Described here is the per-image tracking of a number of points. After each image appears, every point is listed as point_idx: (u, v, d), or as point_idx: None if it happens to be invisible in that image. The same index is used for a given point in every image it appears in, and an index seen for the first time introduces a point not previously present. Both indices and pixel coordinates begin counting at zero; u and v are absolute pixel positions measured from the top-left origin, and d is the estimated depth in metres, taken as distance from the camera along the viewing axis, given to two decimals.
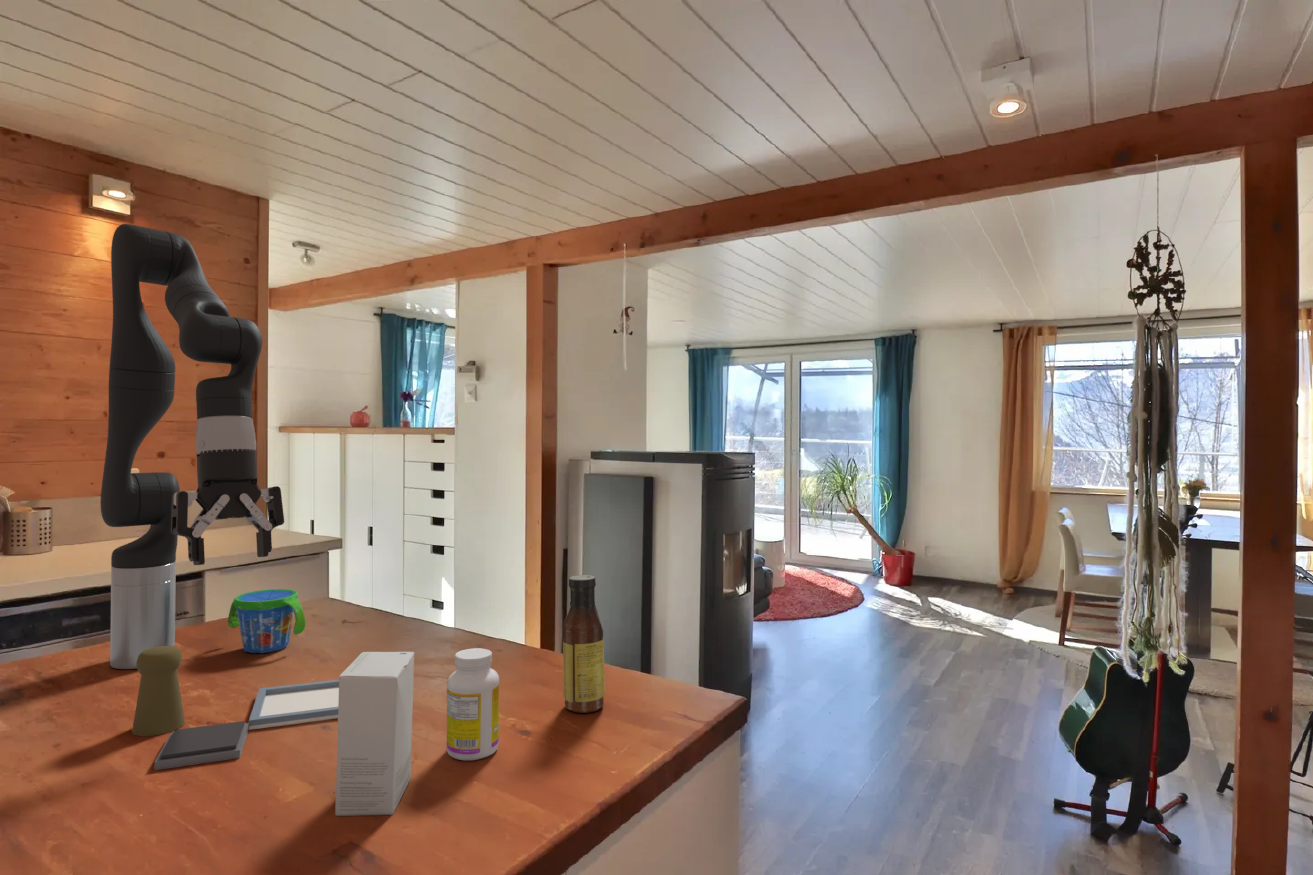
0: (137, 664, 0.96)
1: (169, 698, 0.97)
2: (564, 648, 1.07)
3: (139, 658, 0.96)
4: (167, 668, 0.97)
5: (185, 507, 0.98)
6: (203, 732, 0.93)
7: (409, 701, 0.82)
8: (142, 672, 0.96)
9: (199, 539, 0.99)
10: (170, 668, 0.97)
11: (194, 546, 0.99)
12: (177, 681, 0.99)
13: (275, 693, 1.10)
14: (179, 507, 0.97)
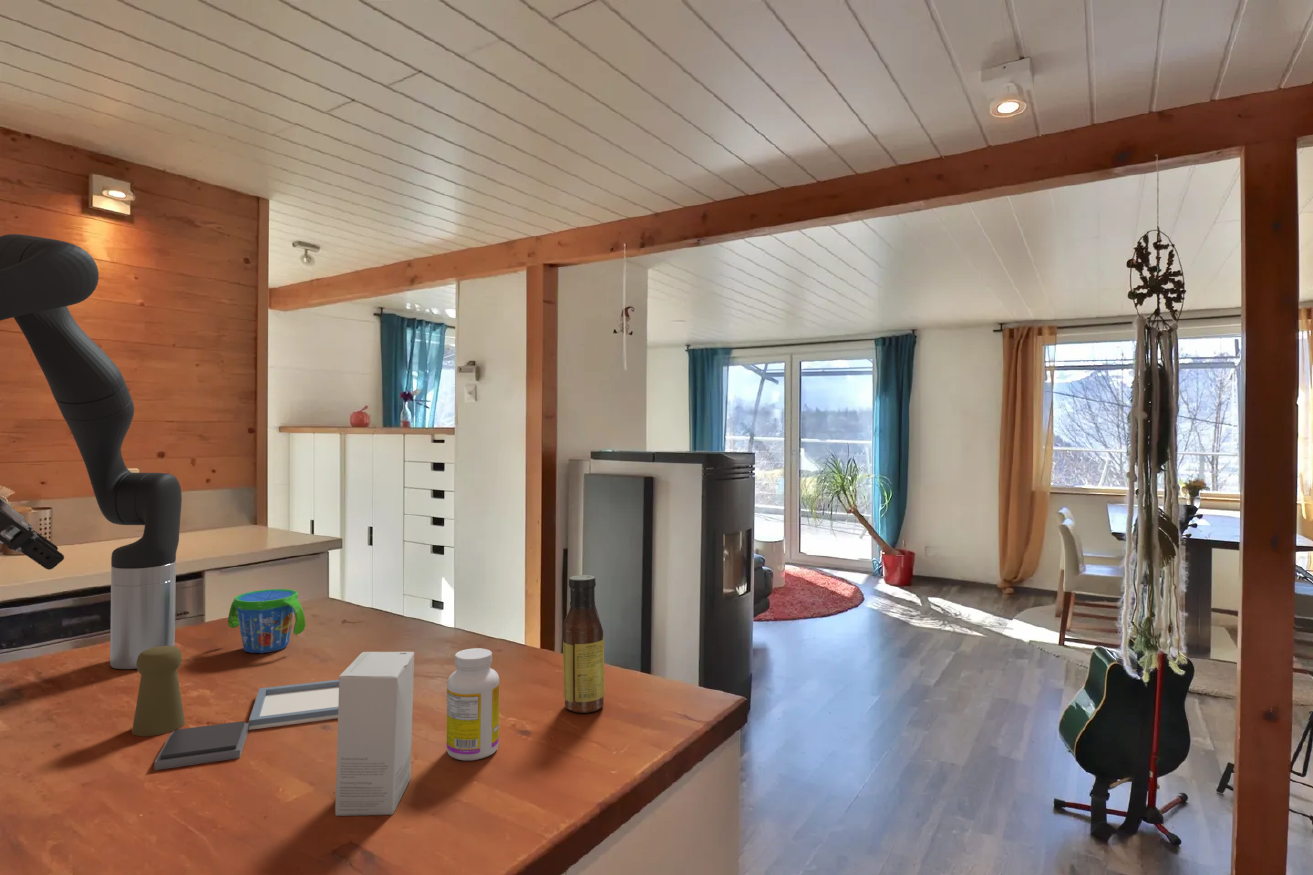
0: (137, 664, 0.96)
1: (169, 698, 0.97)
2: (564, 648, 1.07)
3: (139, 658, 0.96)
4: (167, 668, 0.97)
5: None
6: (203, 732, 0.93)
7: (409, 701, 0.82)
8: (142, 672, 0.96)
9: None
10: (170, 668, 0.97)
11: None
12: (177, 681, 0.99)
13: (275, 693, 1.10)
14: None
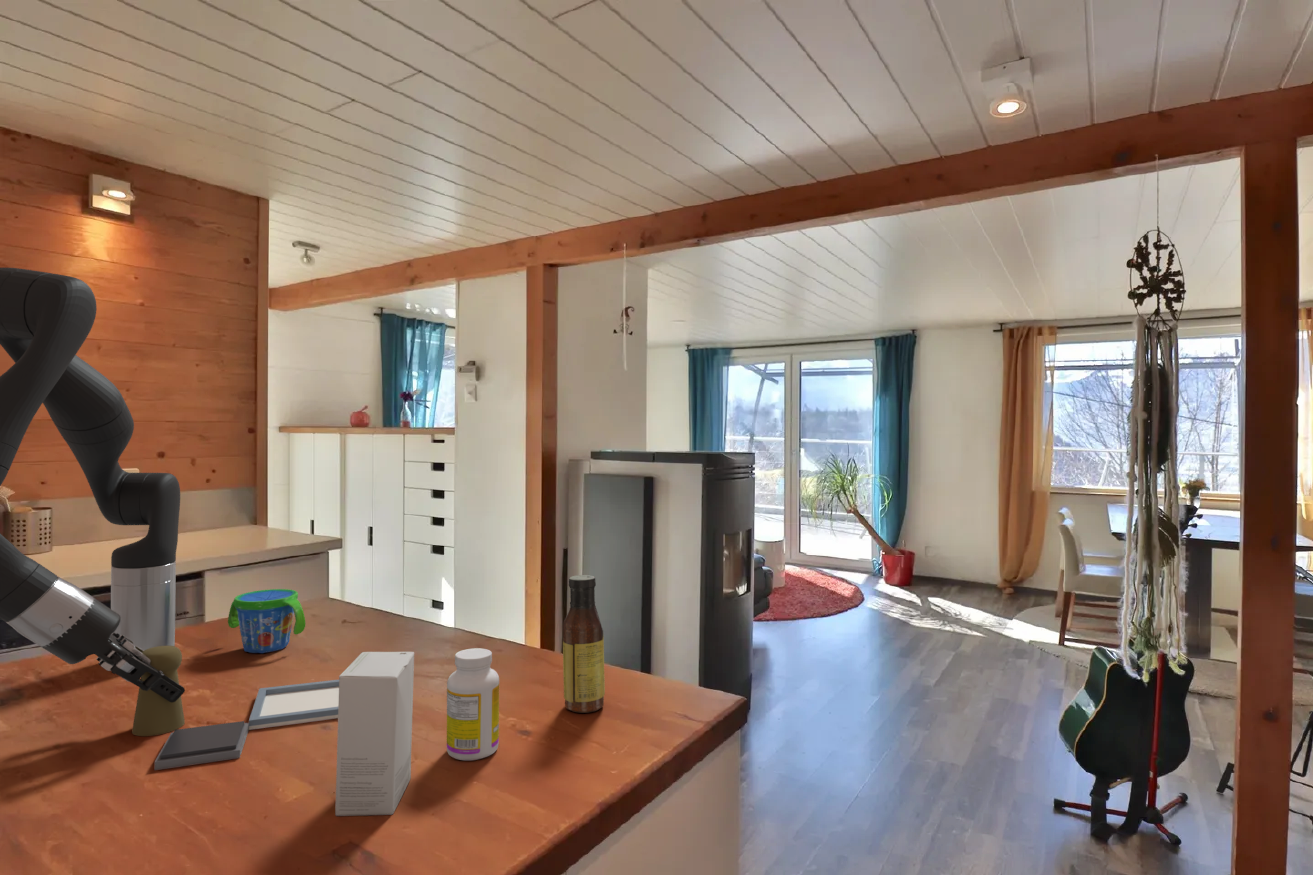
0: None
1: None
2: (564, 648, 1.07)
3: None
4: (167, 668, 0.97)
5: None
6: (203, 732, 0.93)
7: (409, 701, 0.82)
8: None
9: None
10: (170, 668, 0.97)
11: None
12: (177, 681, 0.99)
13: (275, 693, 1.10)
14: None
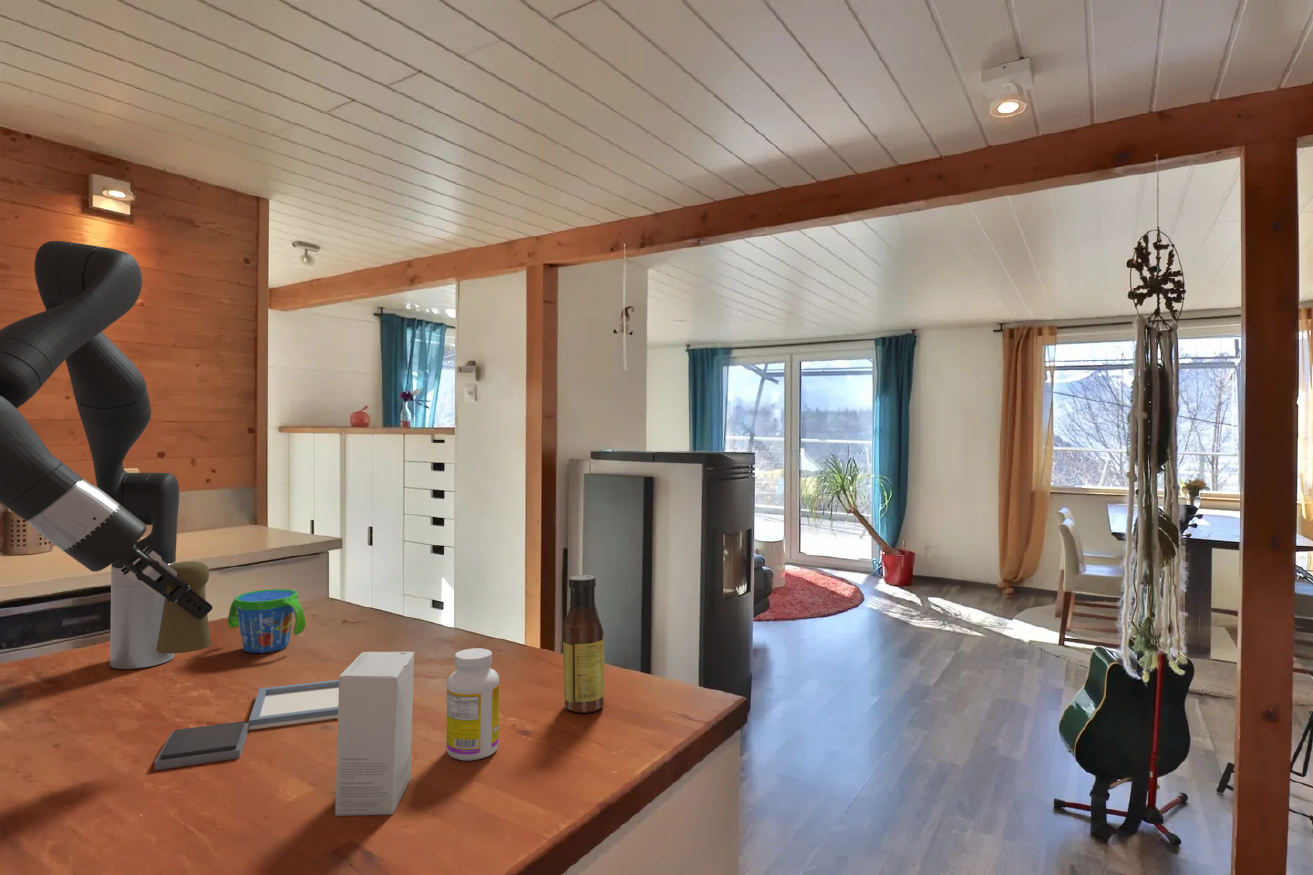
0: None
1: None
2: (564, 648, 1.07)
3: None
4: (193, 582, 0.91)
5: None
6: (203, 732, 0.93)
7: (409, 701, 0.82)
8: (168, 586, 0.91)
9: None
10: (197, 583, 0.92)
11: None
12: (204, 598, 0.93)
13: (275, 693, 1.10)
14: None
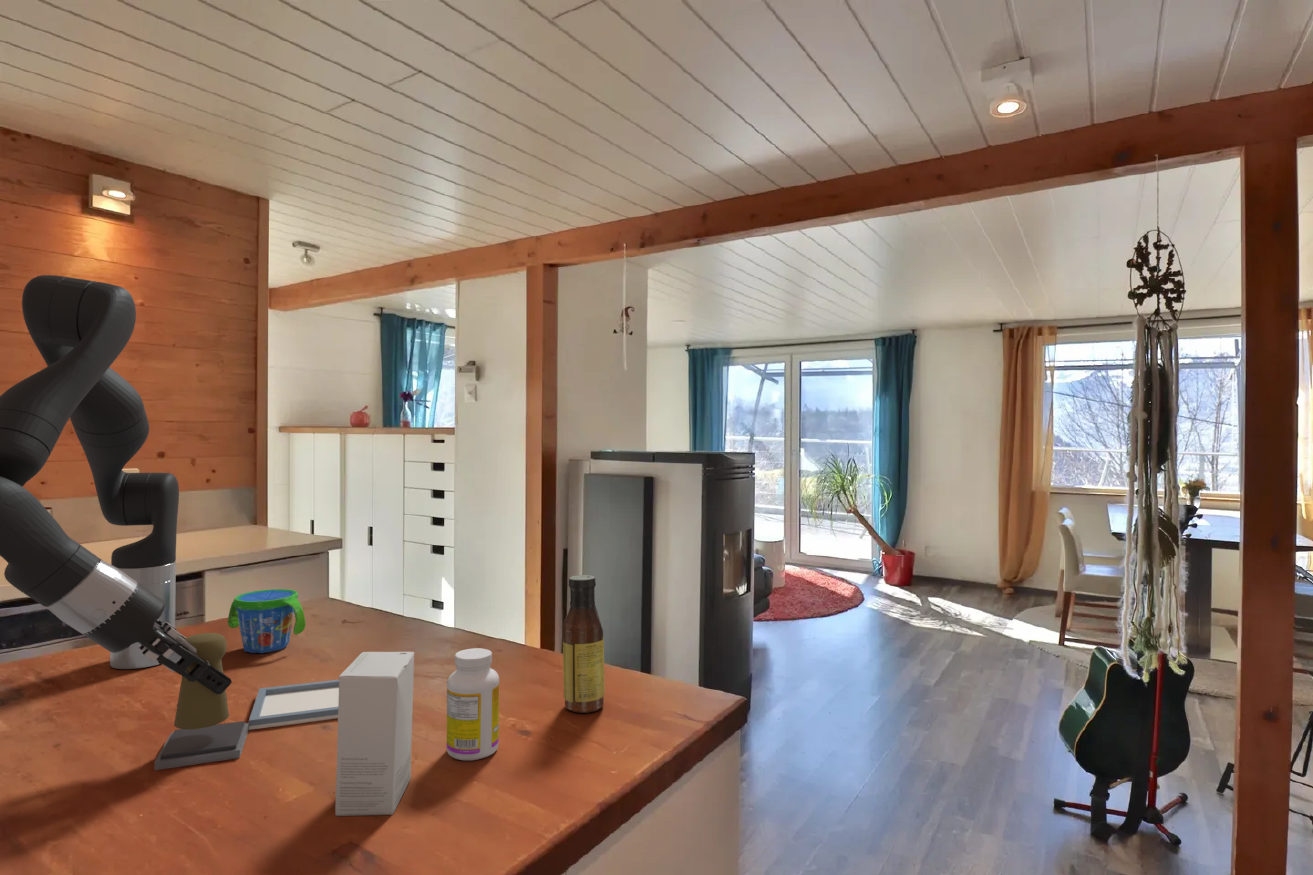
0: None
1: None
2: (564, 648, 1.07)
3: None
4: (212, 656, 0.90)
5: None
6: (203, 732, 0.93)
7: (409, 701, 0.82)
8: None
9: None
10: (215, 657, 0.91)
11: None
12: (222, 671, 0.93)
13: (275, 693, 1.10)
14: None
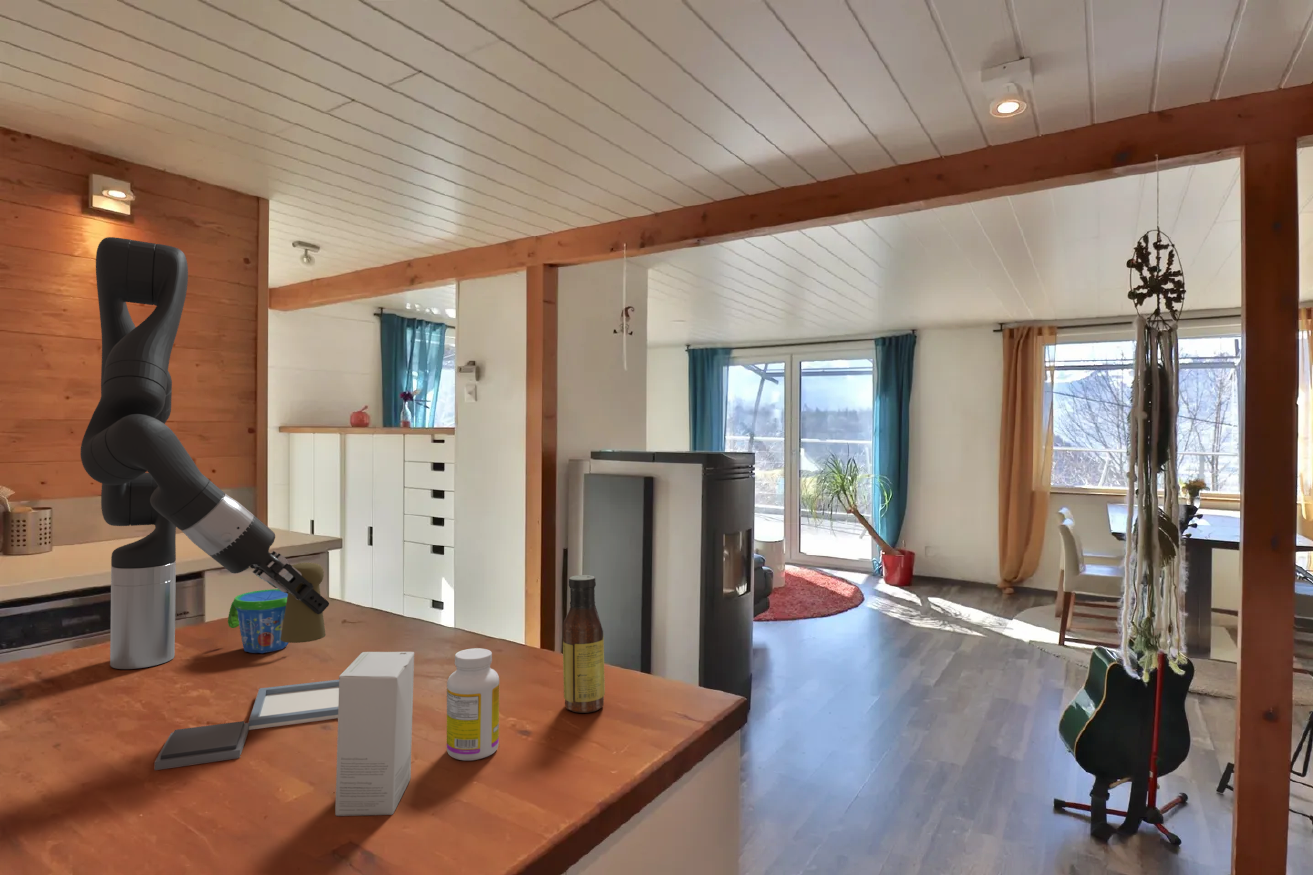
0: None
1: None
2: (564, 648, 1.07)
3: None
4: (313, 581, 1.05)
5: None
6: (203, 732, 0.93)
7: (409, 701, 0.82)
8: None
9: None
10: (316, 582, 1.05)
11: None
12: None
13: (275, 693, 1.10)
14: None
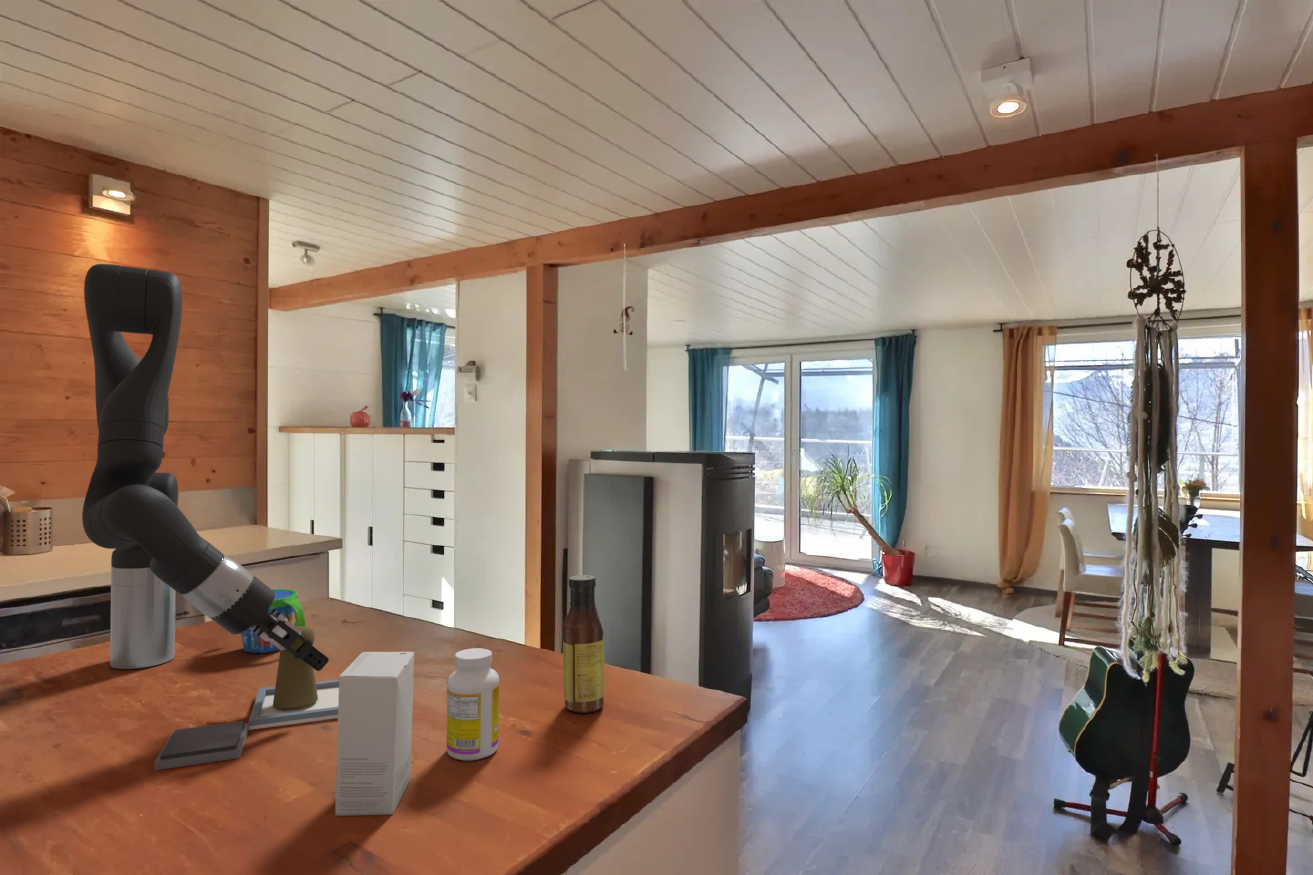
0: None
1: (306, 673, 1.05)
2: (564, 648, 1.07)
3: None
4: None
5: None
6: (203, 732, 0.93)
7: (409, 701, 0.82)
8: None
9: None
10: None
11: None
12: None
13: None
14: None
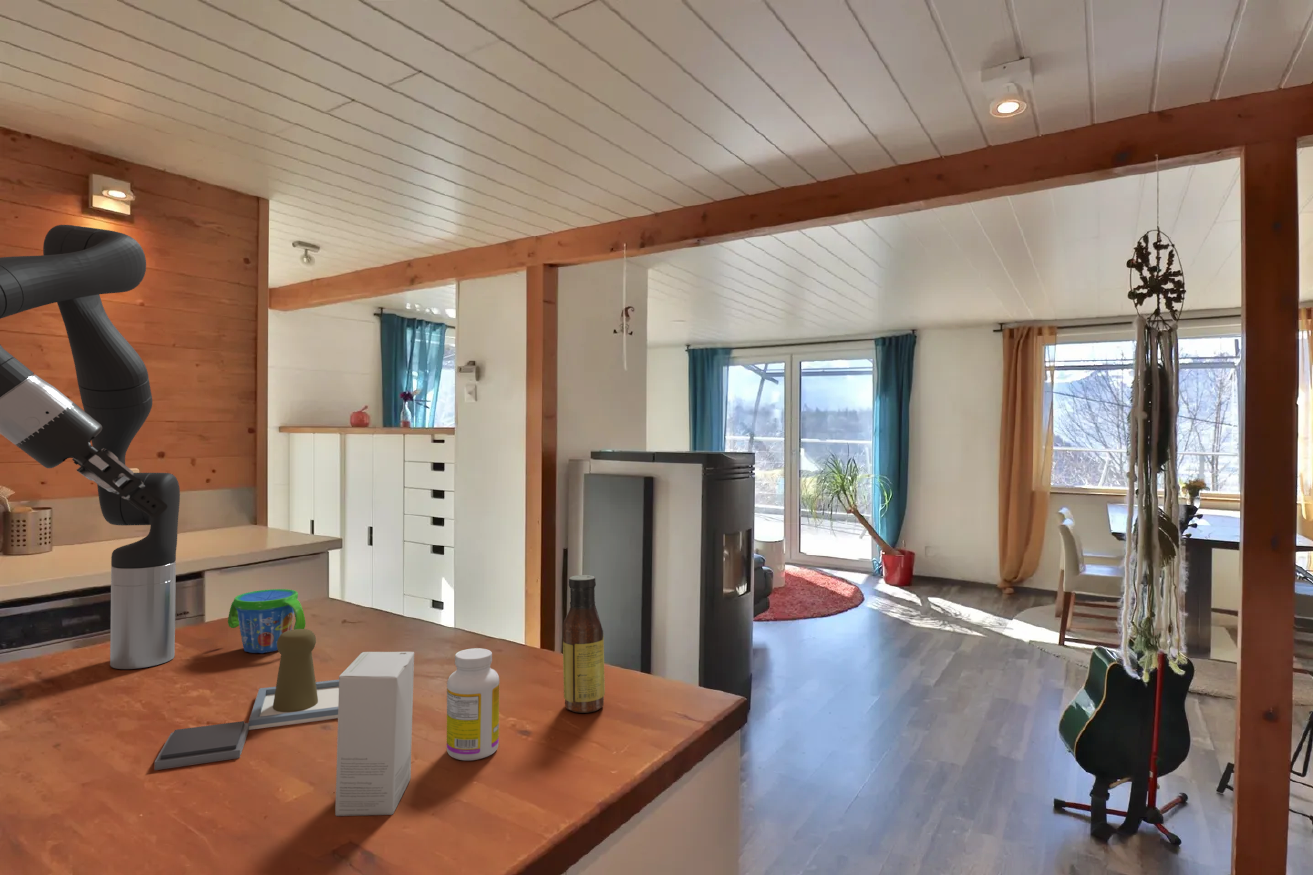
0: (279, 645, 1.04)
1: (308, 677, 1.05)
2: (564, 648, 1.07)
3: (281, 640, 1.04)
4: (306, 649, 1.05)
5: None
6: (203, 732, 0.93)
7: (409, 701, 0.82)
8: (284, 653, 1.04)
9: None
10: (308, 649, 1.05)
11: None
12: (312, 661, 1.07)
13: None
14: None
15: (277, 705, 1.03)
